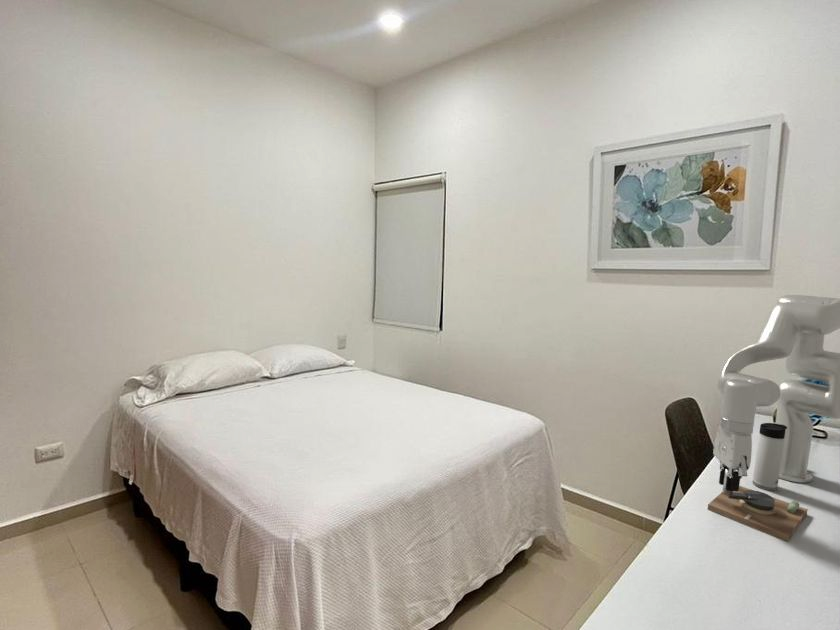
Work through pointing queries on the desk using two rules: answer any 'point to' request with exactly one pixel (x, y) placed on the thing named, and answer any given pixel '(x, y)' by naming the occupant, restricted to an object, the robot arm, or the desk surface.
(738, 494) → the grey rounded piece
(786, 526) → the base
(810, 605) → the desk surface
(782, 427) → the travel mug
